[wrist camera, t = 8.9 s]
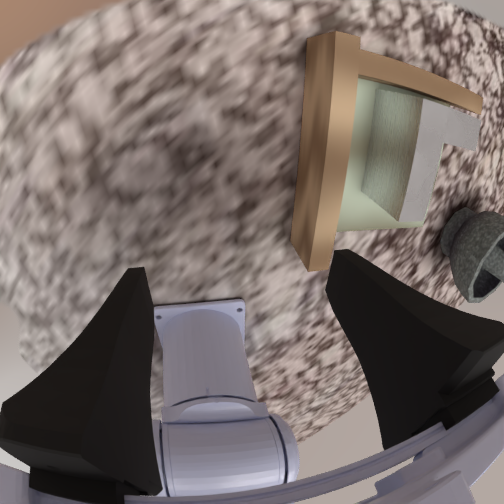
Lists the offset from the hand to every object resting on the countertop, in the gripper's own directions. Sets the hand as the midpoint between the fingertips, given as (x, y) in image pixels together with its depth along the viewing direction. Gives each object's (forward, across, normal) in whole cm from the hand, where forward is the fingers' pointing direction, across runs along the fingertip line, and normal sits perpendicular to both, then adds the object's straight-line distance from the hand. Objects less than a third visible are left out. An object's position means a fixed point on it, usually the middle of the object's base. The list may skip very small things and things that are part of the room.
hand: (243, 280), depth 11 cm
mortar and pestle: (+10, -27, +5) cm, 29 cm away
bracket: (+9, -14, -3) cm, 17 cm away
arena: (+10, -12, -3) cm, 16 cm away
